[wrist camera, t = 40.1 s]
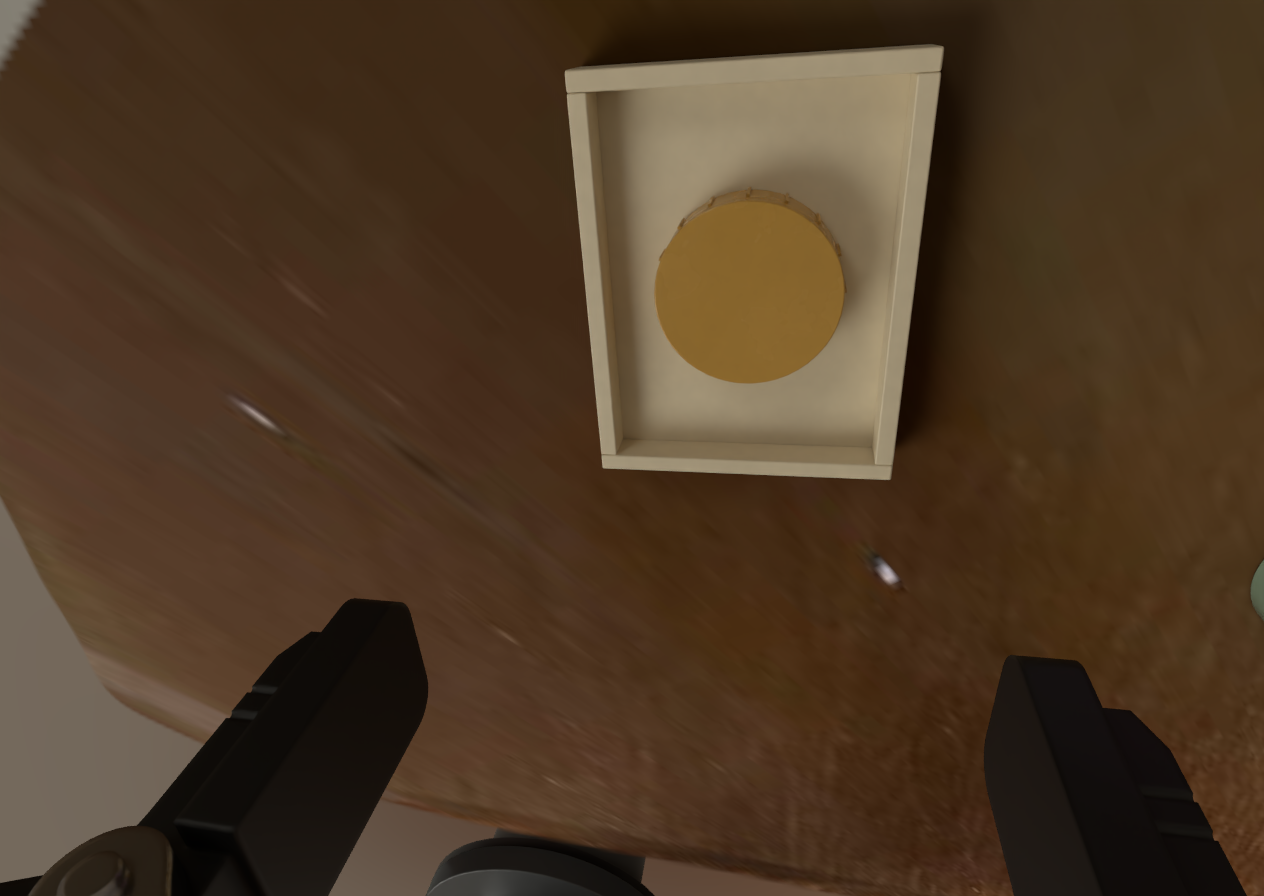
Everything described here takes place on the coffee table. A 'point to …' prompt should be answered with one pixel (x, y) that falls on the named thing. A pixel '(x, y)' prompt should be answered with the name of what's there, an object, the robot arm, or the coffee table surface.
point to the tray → (764, 160)
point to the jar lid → (750, 286)
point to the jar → (1258, 591)
